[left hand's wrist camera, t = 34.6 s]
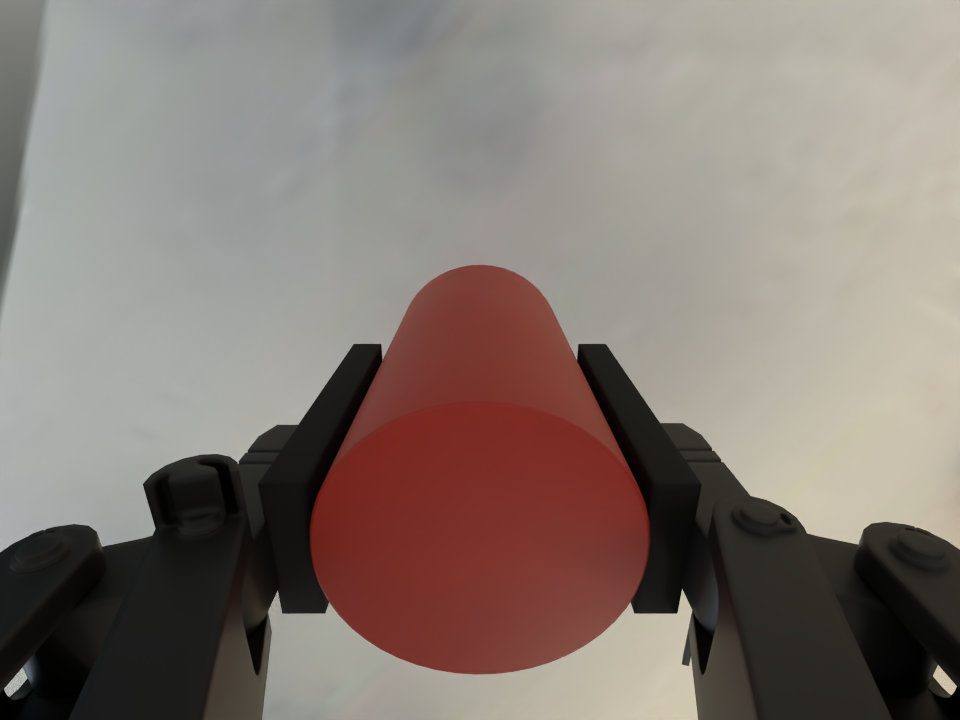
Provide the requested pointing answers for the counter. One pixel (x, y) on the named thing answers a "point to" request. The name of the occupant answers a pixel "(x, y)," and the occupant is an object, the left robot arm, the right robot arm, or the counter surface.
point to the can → (479, 490)
